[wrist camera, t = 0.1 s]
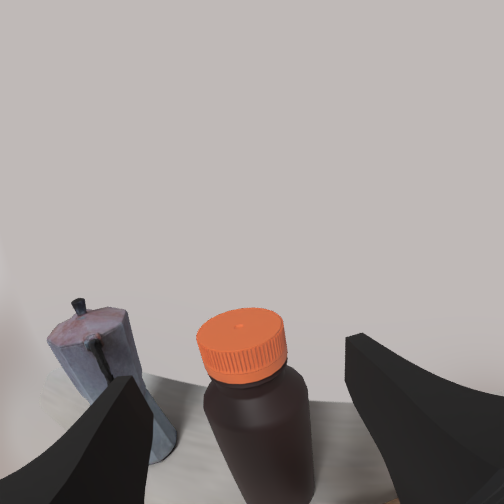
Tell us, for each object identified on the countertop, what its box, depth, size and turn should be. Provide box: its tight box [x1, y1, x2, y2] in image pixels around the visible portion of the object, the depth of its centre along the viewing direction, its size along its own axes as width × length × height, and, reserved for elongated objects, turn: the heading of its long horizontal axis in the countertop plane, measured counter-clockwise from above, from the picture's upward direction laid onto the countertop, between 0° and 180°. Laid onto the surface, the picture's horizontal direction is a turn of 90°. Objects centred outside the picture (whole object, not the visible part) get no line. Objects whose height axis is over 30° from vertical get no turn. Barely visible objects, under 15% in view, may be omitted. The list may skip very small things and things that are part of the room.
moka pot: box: [47, 298, 177, 465], centre depth 27 cm, size 10×15×20 cm, turn 43°
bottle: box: [196, 308, 314, 504], centre depth 19 cm, size 7×7×20 cm
